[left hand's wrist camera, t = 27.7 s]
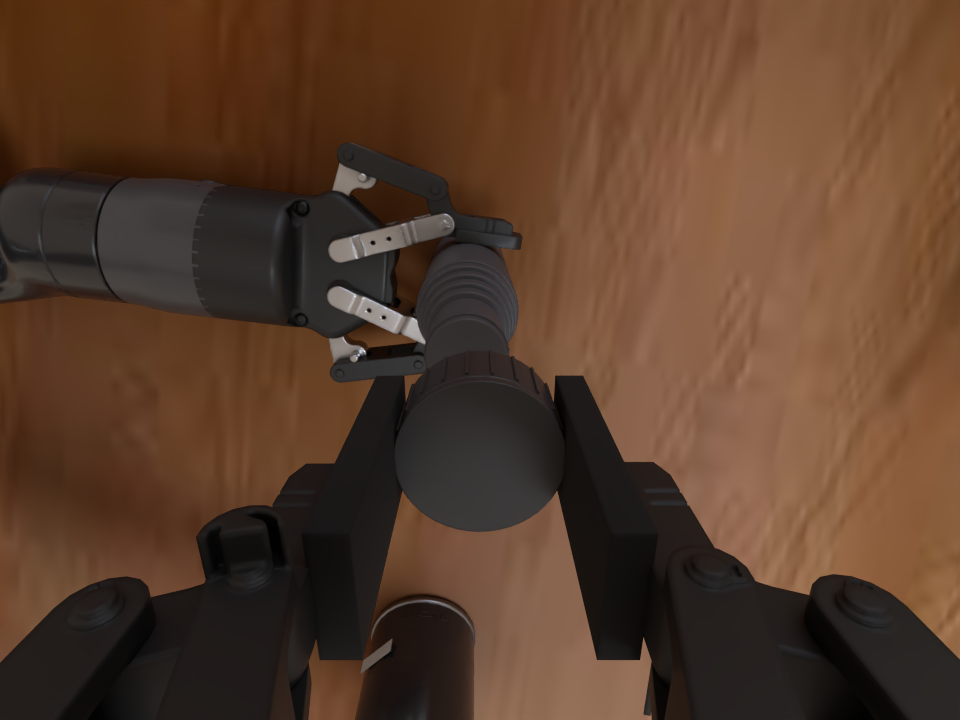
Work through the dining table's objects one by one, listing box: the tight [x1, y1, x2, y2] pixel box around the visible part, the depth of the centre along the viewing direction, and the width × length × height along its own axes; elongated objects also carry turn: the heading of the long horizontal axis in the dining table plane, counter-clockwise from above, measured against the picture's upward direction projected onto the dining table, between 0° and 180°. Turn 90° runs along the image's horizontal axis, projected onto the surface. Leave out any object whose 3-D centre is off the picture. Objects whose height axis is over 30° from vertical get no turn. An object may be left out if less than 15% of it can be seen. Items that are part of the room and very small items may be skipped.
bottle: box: [416, 236, 518, 369], centre depth 28 cm, size 5×5×18 cm
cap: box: [394, 350, 565, 532], centre depth 14 cm, size 4×4×2 cm
